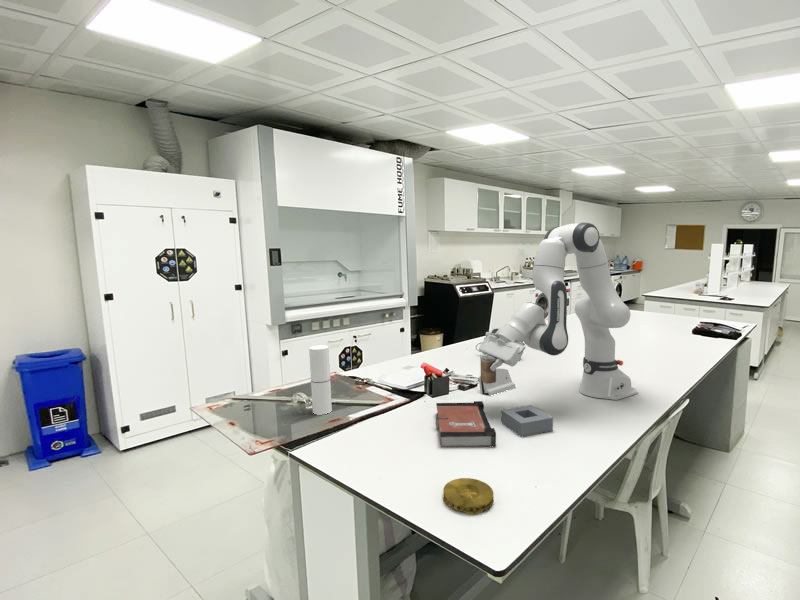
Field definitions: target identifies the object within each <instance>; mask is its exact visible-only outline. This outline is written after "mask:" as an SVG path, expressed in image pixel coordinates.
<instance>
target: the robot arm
mask: <svg viewBox="0 0 800 600" xmlns="http://www.w3.org/2000/svg"><path fill="white" fill-rule="evenodd" d="M600 238H601V237H600V231H599V229H598V228H597V226H595V225H594V223H591V222H579V223H576V222H575V223H568V224H564V225H561V226H555V227H553V228H551V229H549V230H548V231H547V232H546V233H545V235H544V238H543V239H542V240H541V241H540V242H539V244H538V246H537V250H536V253H535V257H534V261H533V268H532V275H531V276H532V277H531V278H532V283H533V285H534V286H535V287H536V289H538V290H539V291H540V292H541V293H543V294H544V295H545V297H546V298H547V301H548V314H547V316H548V317H547V323H546V320H545V315H544V313H545V310H544V308H543V307H541V306H540V305H539V304H538V303H535V302H531V301H530V302H529V301H527V302H524V303H523V304H521V305H520V306H519V307H518V308H517V310H515V312H514V313H513V314H512V315H511V317H510V320H509V321H508V322H506V323H505V324H504V326H501V327H496V328H492V329H491V330H490V331H489V332H490V333H491V334H490V335H488V336H487V337H486V336H485V337H486V338H485V337H484V338H485V340H484V339H483V341H482V342H481V344H479V347H478V350H480V351H481V352H480V353H481V354H482V355H483V356H489V355H491V356H493V357H495V358H496V362H495V363H494V364H491V365H490V366H489V369H490V370H492V371H494V370H495V369H497V368H499V367H500V366H503V364H505V365H507V366H510V367H514V366H516V365H517V364H518V362H520V361H519V359H520V358H521V359H522V356H523V354H524V351H525V350H526V346H527V347H528V348H531V349H533V350H536V351H539V352H542V353H545V354H547V355H549V356H559V355H561V354H562V353H564V352H565V350H566V349H567V347H568V345H569V333H568V329H567V315H568V314H567V313H568V310H567V309H568V292H567V291H568V290H567V286H566V285H565V278H564V277H565V266H566V257H567V256H568V255H571V254H574V255H575V259H576V261H575V262H576V267H577V273H578V278H579V283H580V287H581V288H582V289H583V291H584V292H585V293H586V295H587V296H583V297H581V298H579V299H578V300H577V301H576V303H575V305H574V313H575V315H576V316H577V318H578V319H579V321H580V325H581V329H582V332H583V333H582V334H583V336H584V357H583V359H582V367H583V371H582V378H581V383H580V386H579V390H578V391H579V392H580V393H581V394H582V395H584V396H587V397H591V398H596V399H607V400H611V401H612V400H613V401H619V400H621V399H625V398H628V397H631V396H635V395H637V394H638V393H639V391H638V390H637V389H636V388H634V387H632V380H631V377H630V376H628V375H627V374H626V373H624V372H623V371H622V370H620V369H619V367H618V366H620V367H622V366H623V365H624V361H623V360H620V359H617V360H616V358H615V357H616V340H615V338H614V337H613V336H612V334H611V332H610V329H621V328H623V327H625V326H626V325H627V324H628V323H629V321H630V319H631V310H630V308H629V306H628V305H627V304H625V303H624V301H622V299H621V297H620V296H619V294H618V292H617V290H616V287H615V286H614V283H613V280H612V276H611V272H610V266H609V261H608V256H607V253H606V250H605V247H604V244H603V241H602V239H600Z"/></svg>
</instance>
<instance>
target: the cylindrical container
mask: <svg viewBox="0 0 800 600" xmlns="http://www.w3.org/2000/svg"><path fill="white" fill-rule="evenodd" d="M329 349H330V348H329V345H326V344H317V345H312V346H309V348H308V351H309V367H310V368H309V370H310V372H309V373H310V388H311V406H312V414H313V413H314V414H317V415H316V416H319V415H322V414H327V413H330V412H331V411H333V410H332V407H333V406H332V389H331V388H332V386H331V370H330V367H331V366H330V365H331V364H330V350H329ZM331 413H332V412H331ZM331 413H330V414H331ZM314 414H313V415H314ZM327 415H328V414H327ZM322 416H323V415H322Z"/></svg>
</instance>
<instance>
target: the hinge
mask: <svg viewBox="0 0 800 600" xmlns="http://www.w3.org/2000/svg"><path fill="white" fill-rule="evenodd" d="M478 382H479V383H478V384H479V391H480V394H481V393H482V395H483V394H488V396H489V397H492V396H491V395H493V396H495V395H494V394H496V395H498V394H497V393H499V394H502V393H504V391H505V392H507V391H506V390H508V391H511V390H514V389H516V388H517V387H516V384H515V383H514V382H513V381H512V377H511V375H510V372H509V370H508V369H506V368H499V367H498V368H496V382H495V383H488V384H486V383H484V382H482V381H481V374H480V375H479V376H478ZM513 388H514V389H513ZM510 389H511V390H510ZM501 392H502V393H501Z"/></svg>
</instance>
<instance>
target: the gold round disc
mask: <svg viewBox="0 0 800 600" xmlns="http://www.w3.org/2000/svg"><path fill="white" fill-rule="evenodd" d="M442 490H443V491H442V493H443V495H442V496H443V498H442V499H443V502H444V503H445V505H448V506H449V507H451V508H452V509H454V510H457V511H460V512H465V513H466V515H477V514H482V513H483V511H486V510H487V509H489V508H490V507H492V505H493V503H494V489H492V487H491V486H490V485H489V484H488V483H486V482H484V481H482V480H480V479H477V478H470V477H462V478H461V477H460V478H455V479H452V480H450V481H448V482H447V483H446V484H445V485H444V487H443V489H442Z"/></svg>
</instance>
